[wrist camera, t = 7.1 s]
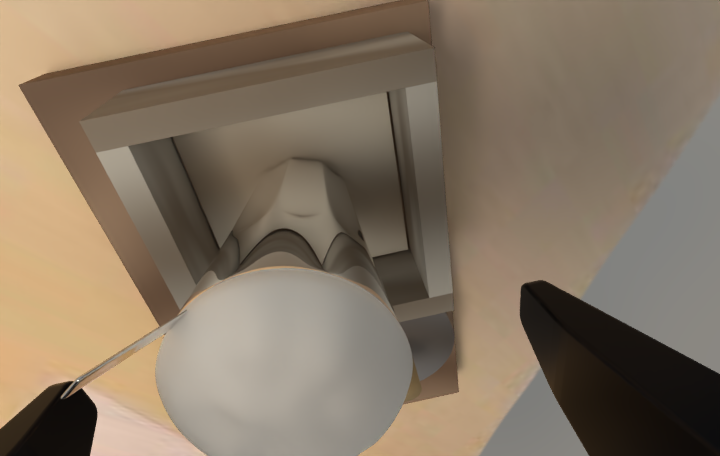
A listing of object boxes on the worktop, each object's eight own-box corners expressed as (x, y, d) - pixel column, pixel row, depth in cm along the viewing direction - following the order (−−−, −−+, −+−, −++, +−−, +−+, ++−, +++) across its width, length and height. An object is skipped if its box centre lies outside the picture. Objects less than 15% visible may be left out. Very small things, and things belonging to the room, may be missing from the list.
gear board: (450, 368, 23) (479, 447, 19) (231, 416, 23) (218, 505, 19) (416, -3, 14) (461, 9, 10) (44, 74, 14) (-54, 116, 10)
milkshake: (273, 89, 13) (180, 259, 4) (394, 196, 15) (501, 463, 6) (187, 192, 14) (-20, 488, 6) (309, 279, 16) (299, 597, 8)
